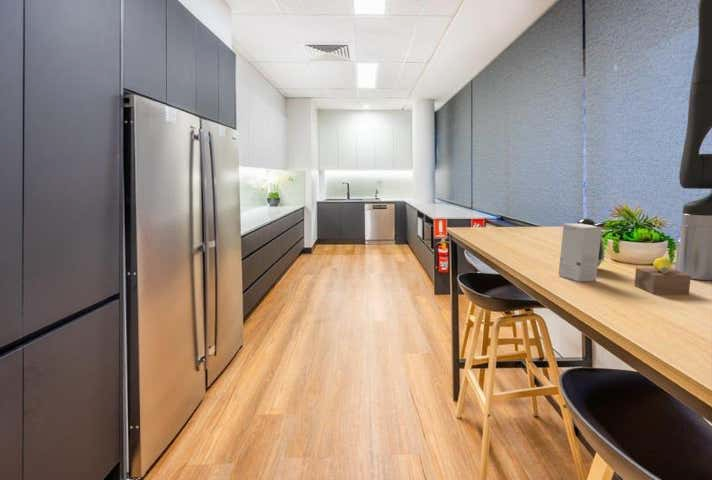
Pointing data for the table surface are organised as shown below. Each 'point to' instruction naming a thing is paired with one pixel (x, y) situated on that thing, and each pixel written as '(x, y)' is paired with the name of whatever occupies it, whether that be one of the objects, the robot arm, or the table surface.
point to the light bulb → (662, 265)
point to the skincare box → (580, 252)
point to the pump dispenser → (601, 250)
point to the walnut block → (662, 281)
